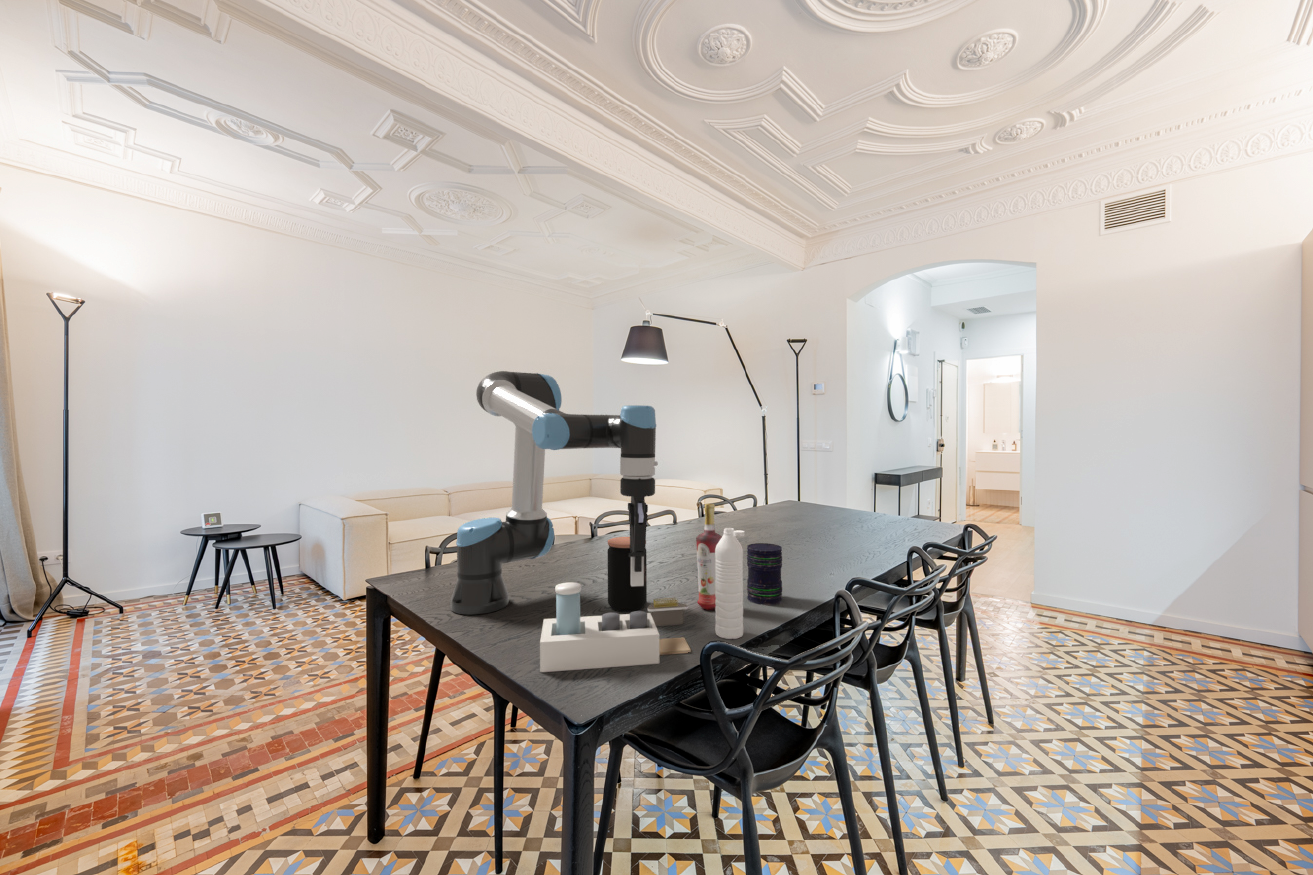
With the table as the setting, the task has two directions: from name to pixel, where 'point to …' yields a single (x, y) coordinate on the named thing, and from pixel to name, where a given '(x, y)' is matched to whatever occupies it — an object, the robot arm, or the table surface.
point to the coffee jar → (623, 578)
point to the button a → (610, 621)
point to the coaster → (673, 646)
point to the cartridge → (568, 608)
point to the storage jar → (764, 573)
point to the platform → (667, 612)
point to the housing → (598, 645)
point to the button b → (638, 620)
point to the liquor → (707, 560)
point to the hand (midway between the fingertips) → (637, 584)
